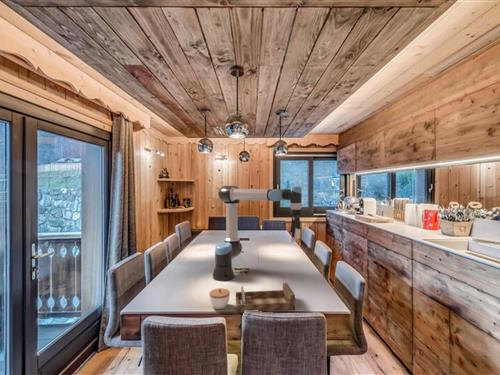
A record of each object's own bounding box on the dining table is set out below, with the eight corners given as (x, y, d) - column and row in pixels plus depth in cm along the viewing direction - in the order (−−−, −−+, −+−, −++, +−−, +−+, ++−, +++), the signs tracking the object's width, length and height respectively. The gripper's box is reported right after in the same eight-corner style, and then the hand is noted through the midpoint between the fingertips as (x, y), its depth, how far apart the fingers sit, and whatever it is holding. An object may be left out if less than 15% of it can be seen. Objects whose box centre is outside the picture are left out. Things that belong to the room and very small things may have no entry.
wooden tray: (237, 313, 132) (237, 297, 132) (235, 299, 148) (235, 285, 148) (294, 310, 135) (294, 294, 135) (287, 296, 151) (287, 283, 151)
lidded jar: (230, 301, 144) (230, 285, 144) (229, 311, 134) (229, 293, 134) (210, 302, 144) (210, 285, 144) (208, 311, 133) (208, 293, 133)
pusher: (242, 309, 134) (243, 296, 134) (241, 298, 147) (241, 286, 147) (252, 308, 134) (252, 295, 134) (249, 298, 147) (249, 286, 147)
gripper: (297, 210, 164) (297, 244, 164) (304, 207, 187) (304, 237, 187) (285, 210, 166) (285, 243, 167) (294, 207, 190) (294, 236, 190)
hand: (295, 240), depth 177 cm, fingers open, 13 cm apart
